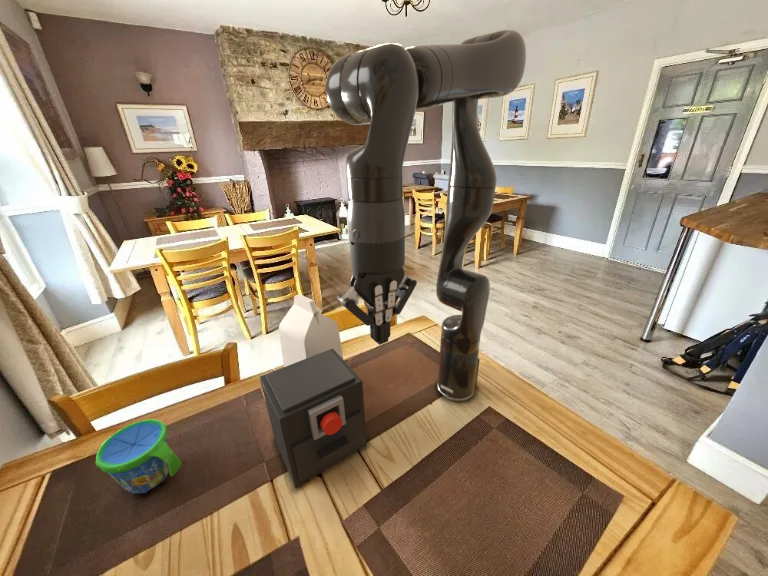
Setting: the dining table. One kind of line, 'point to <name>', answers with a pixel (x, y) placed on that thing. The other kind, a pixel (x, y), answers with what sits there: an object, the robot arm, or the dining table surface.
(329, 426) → the power button
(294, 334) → the milk
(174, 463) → the snack cup
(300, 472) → the dark grey button box
